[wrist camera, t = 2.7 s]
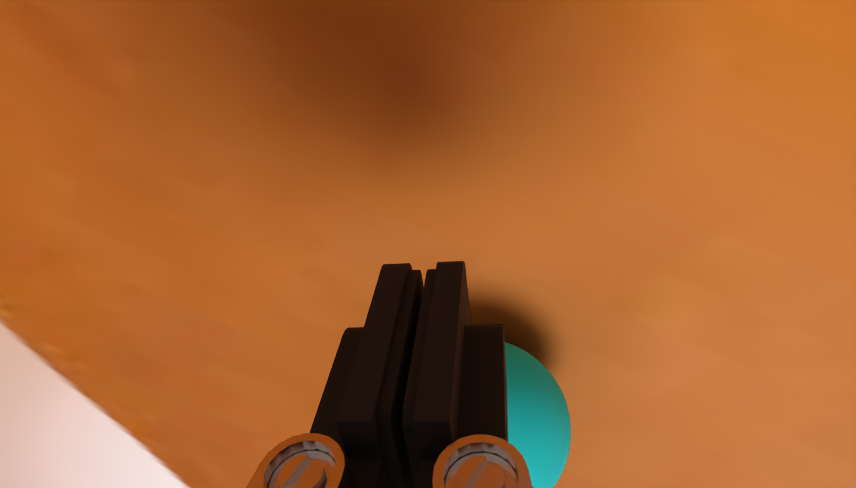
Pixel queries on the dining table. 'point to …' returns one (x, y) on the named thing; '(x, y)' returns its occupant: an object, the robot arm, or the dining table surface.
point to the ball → (536, 417)
